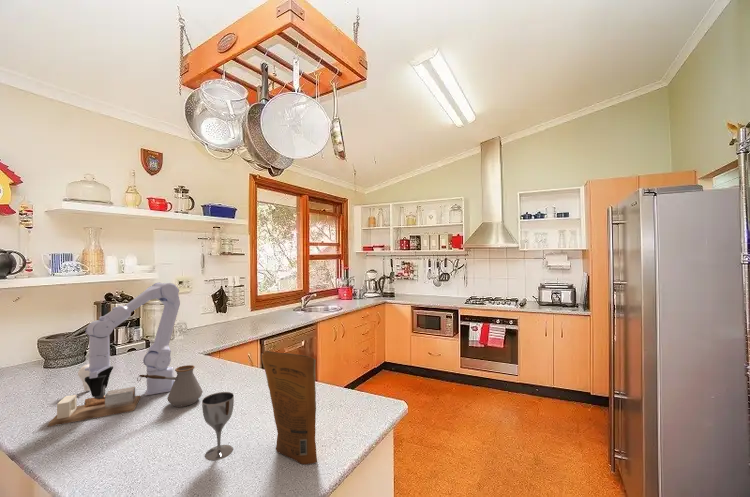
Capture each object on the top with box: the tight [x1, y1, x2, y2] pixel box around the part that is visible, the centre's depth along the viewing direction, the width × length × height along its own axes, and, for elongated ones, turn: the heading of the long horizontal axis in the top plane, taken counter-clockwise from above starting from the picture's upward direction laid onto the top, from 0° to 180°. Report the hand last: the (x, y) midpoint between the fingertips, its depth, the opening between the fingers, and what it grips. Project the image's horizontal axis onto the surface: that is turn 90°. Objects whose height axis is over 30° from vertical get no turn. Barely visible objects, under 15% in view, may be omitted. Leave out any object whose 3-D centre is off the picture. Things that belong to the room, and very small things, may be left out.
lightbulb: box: [77, 363, 91, 392], centre depth 137 cm, size 6×6×11 cm
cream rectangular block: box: [56, 394, 78, 419], centre depth 115 cm, size 3×7×5 cm, turn 26°
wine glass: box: [201, 391, 235, 461], centre depth 92 cm, size 8×8×15 cm
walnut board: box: [47, 394, 141, 427], centre depth 119 cm, size 23×12×1 cm, turn 116°
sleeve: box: [105, 386, 136, 409], centre depth 122 cm, size 8×5×5 cm, turn 116°
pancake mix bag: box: [261, 350, 318, 466], centre depth 90 cm, size 7×19×28 cm, turn 54°
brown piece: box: [83, 385, 106, 408], centre depth 121 cm, size 14×3×6 cm, turn 116°
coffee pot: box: [136, 364, 204, 408], centre depth 121 cm, size 21×12×15 cm, turn 148°
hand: (99, 392), depth 119 cm, fingers open, 7 cm apart
